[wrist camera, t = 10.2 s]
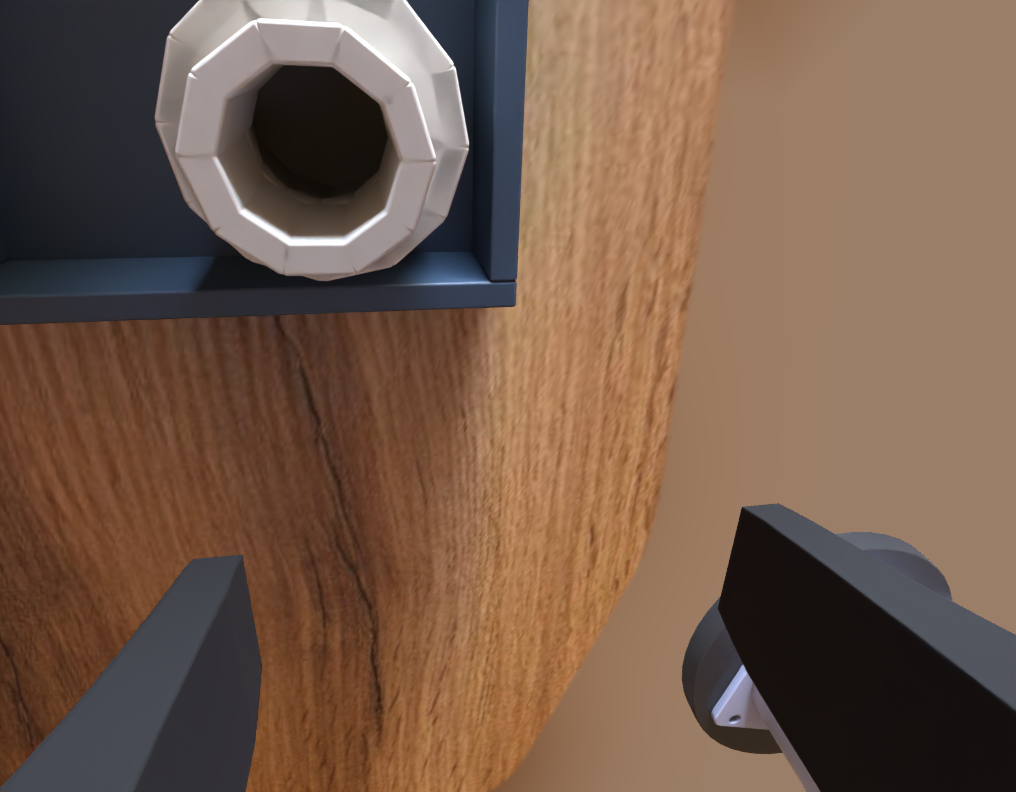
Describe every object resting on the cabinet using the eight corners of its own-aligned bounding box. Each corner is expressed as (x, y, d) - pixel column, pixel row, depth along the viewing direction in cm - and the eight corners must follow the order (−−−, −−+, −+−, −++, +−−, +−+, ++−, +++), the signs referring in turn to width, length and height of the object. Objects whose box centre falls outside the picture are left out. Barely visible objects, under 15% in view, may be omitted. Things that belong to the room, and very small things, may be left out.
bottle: (450, 41, 14) (546, 37, 7) (396, 222, 16) (431, 367, 9) (253, -42, 13) (132, -150, 6) (215, 163, 14) (80, 277, 7)
